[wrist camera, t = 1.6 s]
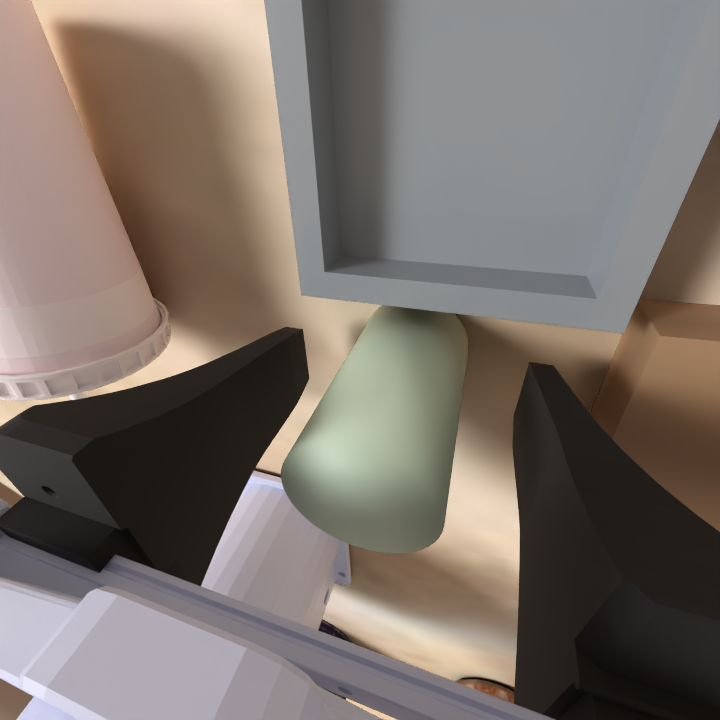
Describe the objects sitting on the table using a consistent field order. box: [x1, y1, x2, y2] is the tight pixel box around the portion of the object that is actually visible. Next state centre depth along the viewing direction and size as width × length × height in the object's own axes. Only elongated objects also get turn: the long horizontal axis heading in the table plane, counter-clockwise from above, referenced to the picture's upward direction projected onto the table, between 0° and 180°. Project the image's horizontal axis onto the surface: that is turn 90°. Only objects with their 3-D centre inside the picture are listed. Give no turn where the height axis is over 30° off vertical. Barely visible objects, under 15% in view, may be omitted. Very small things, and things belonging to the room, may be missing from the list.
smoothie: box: [0, 0, 171, 401], centre depth 12 cm, size 6×6×14 cm
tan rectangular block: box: [590, 300, 720, 532], centre depth 11 cm, size 8×6×2 cm
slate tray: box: [264, 0, 720, 333], centre depth 8 cm, size 8×8×2 cm
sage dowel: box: [281, 305, 469, 554], centre depth 10 cm, size 4×4×6 cm
